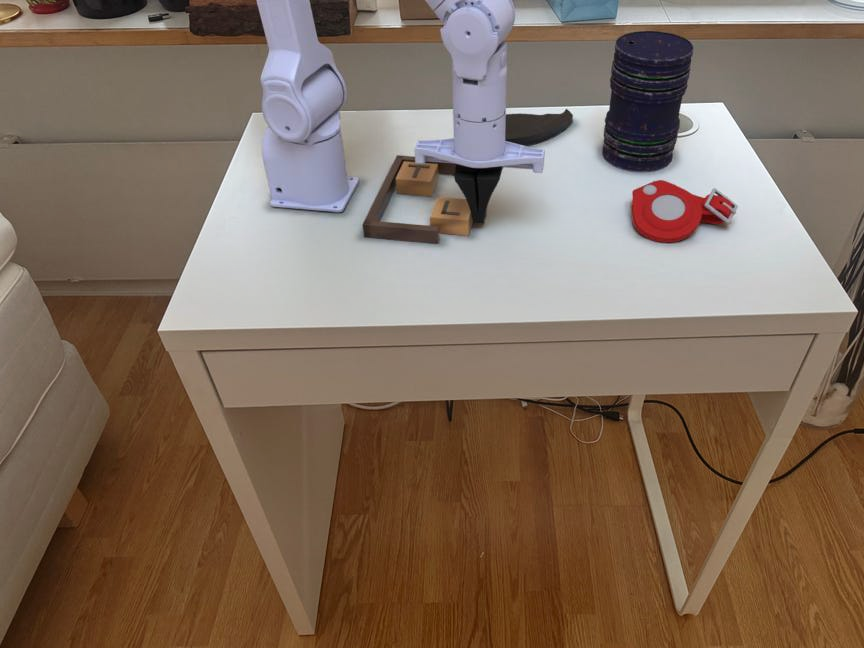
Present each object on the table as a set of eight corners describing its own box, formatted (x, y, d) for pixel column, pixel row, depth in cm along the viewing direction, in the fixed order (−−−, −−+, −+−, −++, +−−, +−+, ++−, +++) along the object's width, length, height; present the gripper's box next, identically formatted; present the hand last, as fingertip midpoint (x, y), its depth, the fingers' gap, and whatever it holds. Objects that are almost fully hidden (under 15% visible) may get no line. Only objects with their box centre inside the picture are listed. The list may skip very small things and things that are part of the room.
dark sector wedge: (585, 138, 106) (586, 127, 105) (495, 151, 103) (495, 140, 102) (563, 113, 112) (564, 102, 110) (478, 125, 109) (478, 114, 107)
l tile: (430, 232, 88) (429, 216, 87) (438, 212, 92) (437, 195, 90) (468, 236, 88) (468, 219, 86) (474, 215, 91) (474, 199, 89)
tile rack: (363, 237, 88) (362, 224, 86) (397, 167, 100) (396, 154, 98) (438, 244, 86) (437, 231, 85) (463, 172, 99) (463, 160, 97)
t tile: (396, 193, 95) (395, 177, 93) (404, 176, 98) (403, 160, 96) (431, 196, 94) (430, 180, 93) (438, 178, 97) (438, 163, 96)
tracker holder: (657, 245, 84) (613, 187, 89) (653, 268, 88) (612, 211, 93) (748, 203, 85) (701, 148, 90) (741, 227, 89) (695, 173, 94)
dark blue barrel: (675, 142, 105) (696, 34, 94) (671, 176, 98) (693, 63, 87) (605, 134, 106) (618, 27, 96) (596, 167, 100) (609, 56, 89)
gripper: (549, 99, 81) (542, 206, 91) (421, 90, 83) (427, 196, 92) (543, 128, 76) (537, 238, 86) (407, 118, 78) (415, 227, 87)
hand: (479, 219), depth 89 cm, fingers closed
